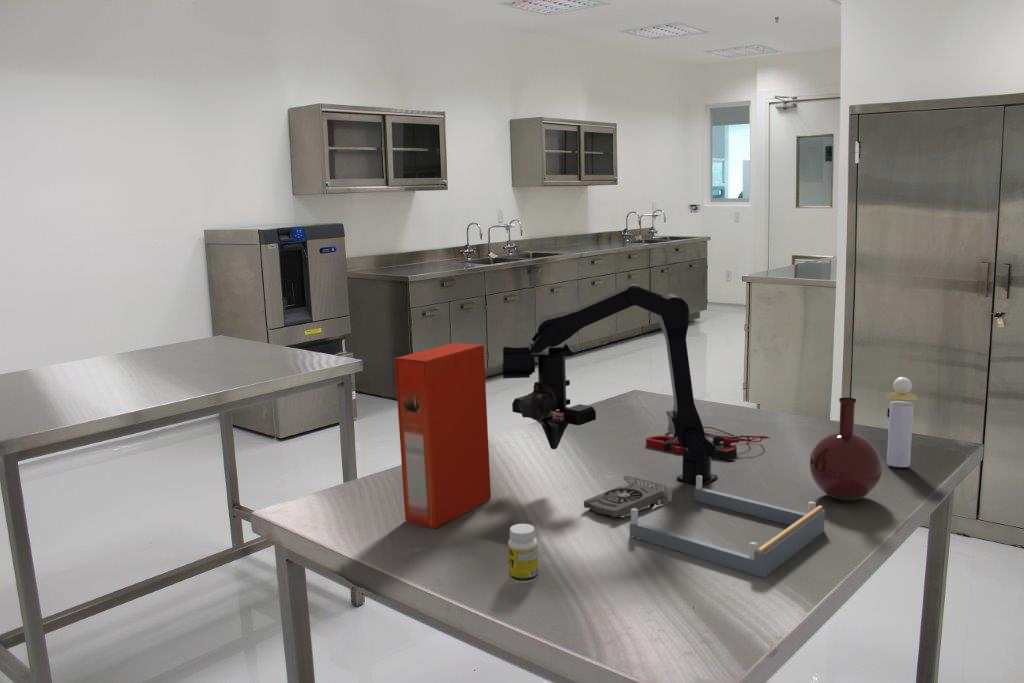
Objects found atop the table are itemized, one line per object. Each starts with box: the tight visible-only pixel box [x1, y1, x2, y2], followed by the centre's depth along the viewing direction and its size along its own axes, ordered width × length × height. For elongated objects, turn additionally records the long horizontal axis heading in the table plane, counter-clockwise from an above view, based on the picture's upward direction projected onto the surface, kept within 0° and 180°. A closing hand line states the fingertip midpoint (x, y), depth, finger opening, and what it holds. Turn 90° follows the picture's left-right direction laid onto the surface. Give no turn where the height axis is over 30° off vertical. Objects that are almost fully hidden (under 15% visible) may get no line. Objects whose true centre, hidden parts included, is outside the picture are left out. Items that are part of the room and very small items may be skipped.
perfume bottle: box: [886, 376, 918, 468], centre depth 175 cm, size 6×6×20 cm
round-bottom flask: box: [808, 397, 883, 501], centre depth 159 cm, size 13×13×20 cm
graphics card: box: [583, 474, 673, 518], centre depth 161 cm, size 17×4×12 cm
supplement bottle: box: [507, 523, 539, 584], centre depth 131 cm, size 5×5×8 cm
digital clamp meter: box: [645, 426, 771, 461], centre depth 198 cm, size 23×4×25 cm
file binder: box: [394, 342, 492, 529], centre depth 158 cm, size 8×17×32 cm, turn 145°
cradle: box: [629, 475, 826, 579], centre depth 145 cm, size 23×26×5 cm
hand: (554, 448), depth 172 cm, fingers closed
